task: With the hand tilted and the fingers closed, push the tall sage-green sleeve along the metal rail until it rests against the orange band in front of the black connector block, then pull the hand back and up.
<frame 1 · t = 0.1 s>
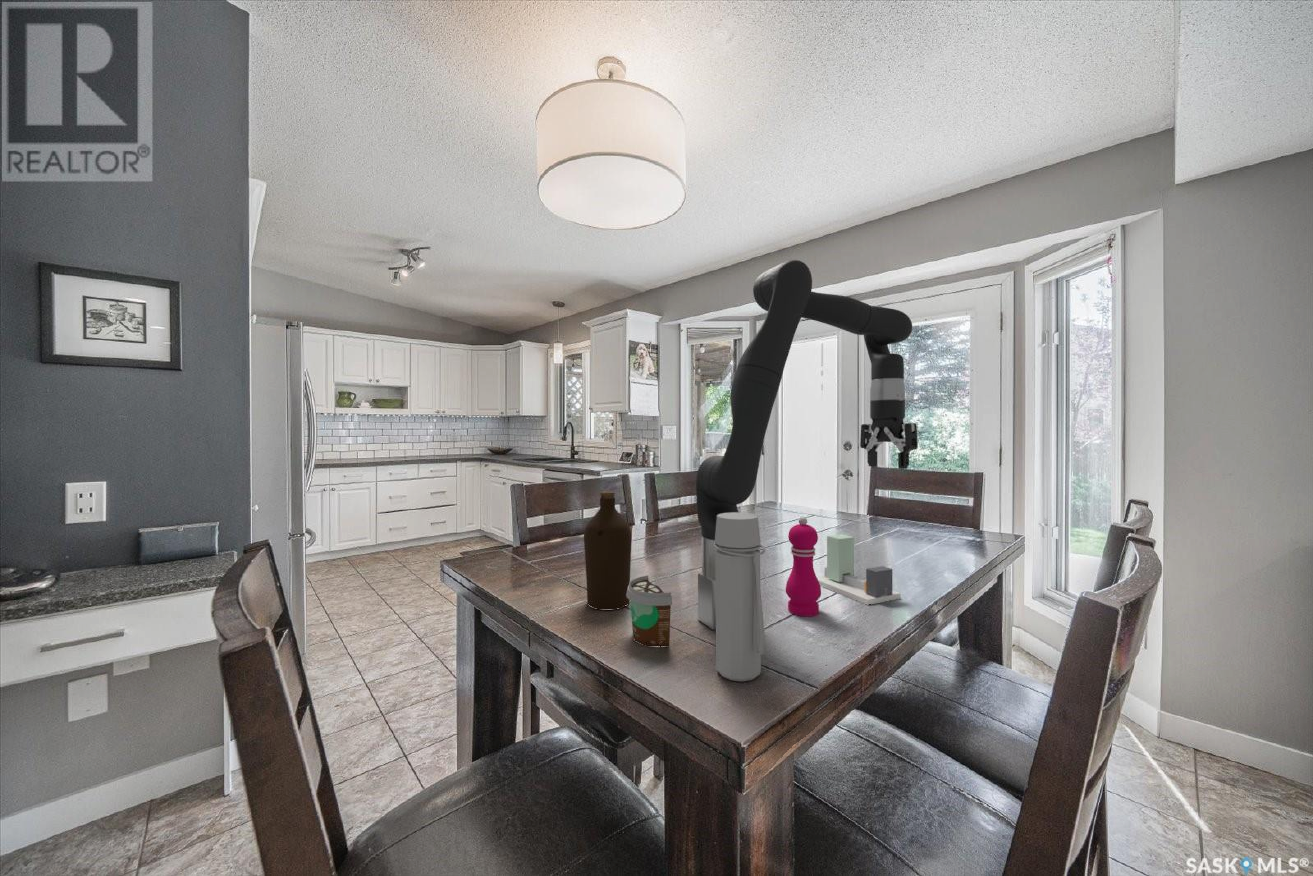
hand: (887, 467, 118), 29 cm above the table, tool pointing down, fingers open, 8 cm apart
sleeve: (840, 557, 123), point 7 cm above the table, slide at 7.0 cm
olive oil: (608, 604, 111), on the table
food container: (644, 640, 92), on the table
pepper mill: (803, 612, 106), on the table
rail base: (855, 590, 119), on the table
water bottle: (742, 676, 78), on the table
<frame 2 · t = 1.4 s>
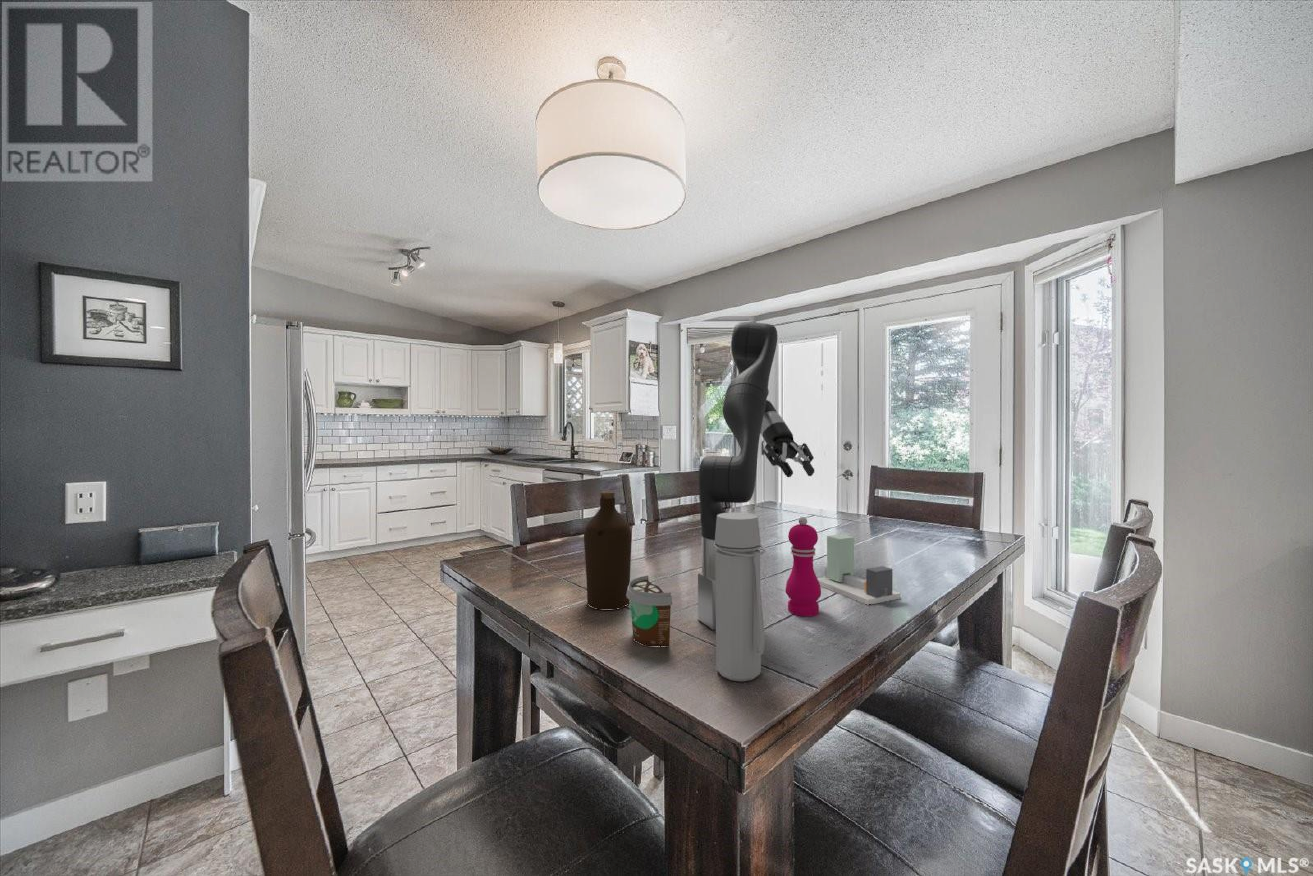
hand: (801, 474, 133), 26 cm above the table, tool tilted 45°, fingers open, 6 cm apart
nothing on the table moved.
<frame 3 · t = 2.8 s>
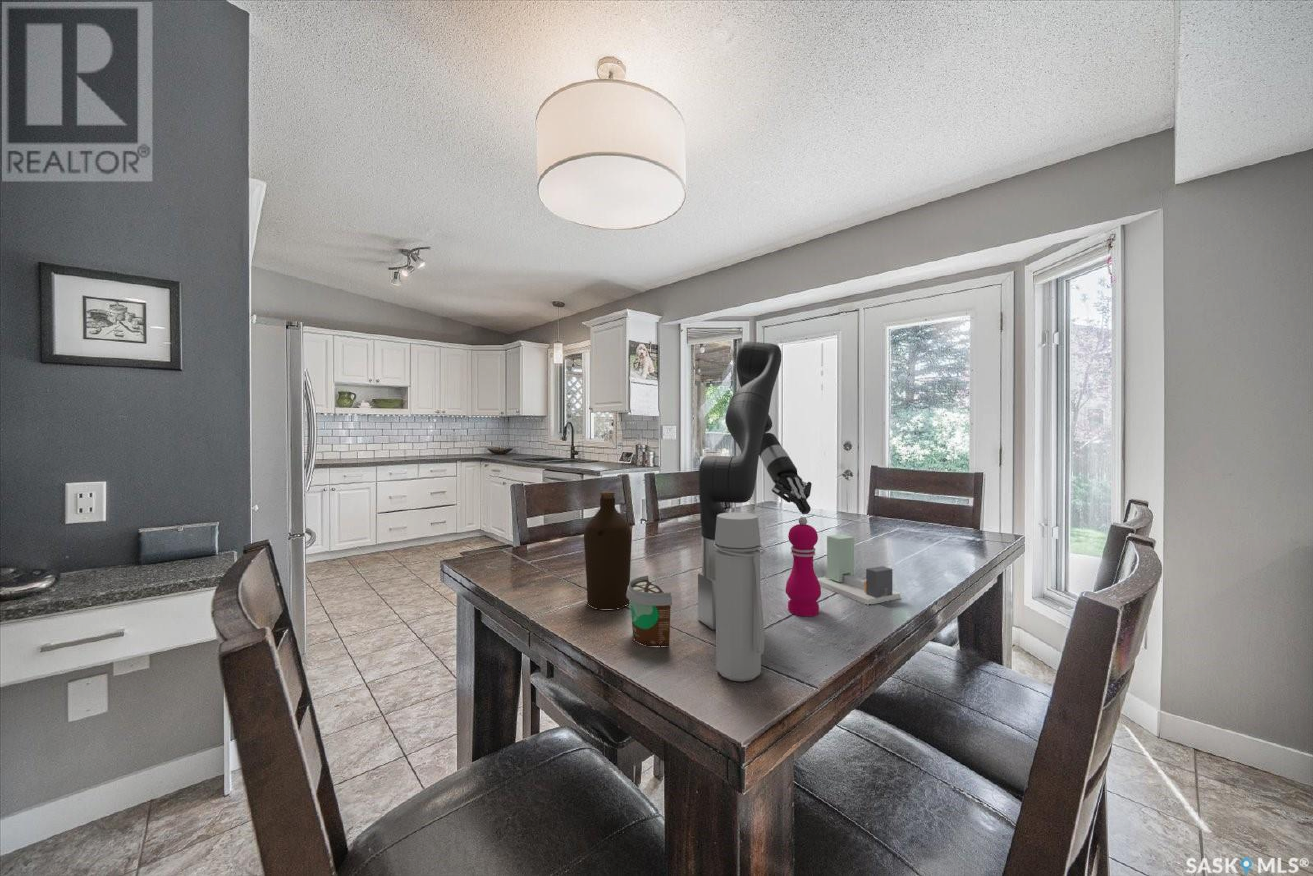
hand: (807, 512, 134), 16 cm above the table, tool tilted 45°, fingers closed
nothing on the table moved.
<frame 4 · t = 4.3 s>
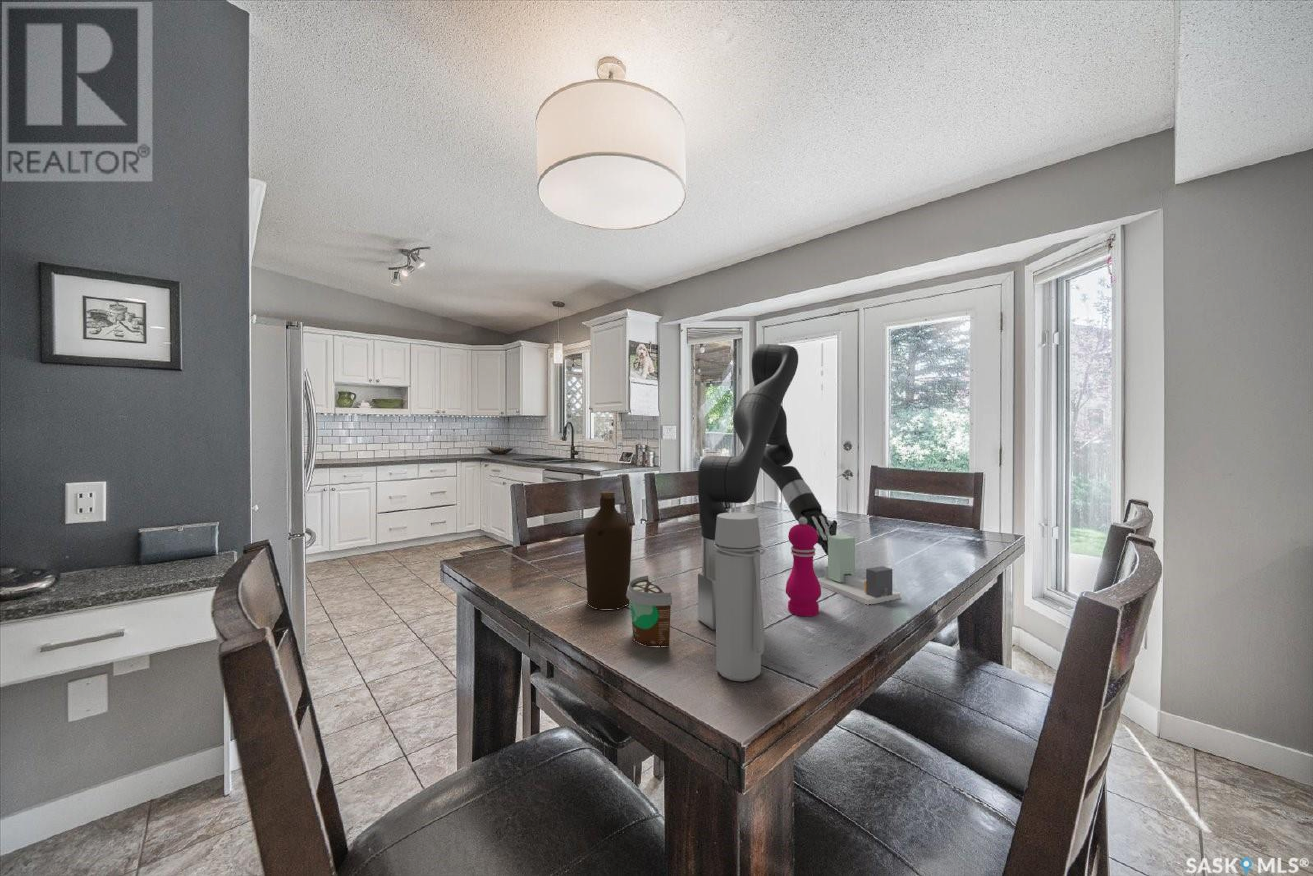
hand: (833, 555, 125), 7 cm above the table, tool tilted 45°, fingers closed
sleeve: (841, 557, 122), point 7 cm above the table, slide at 6.7 cm, touching gripper
everything else where it was.
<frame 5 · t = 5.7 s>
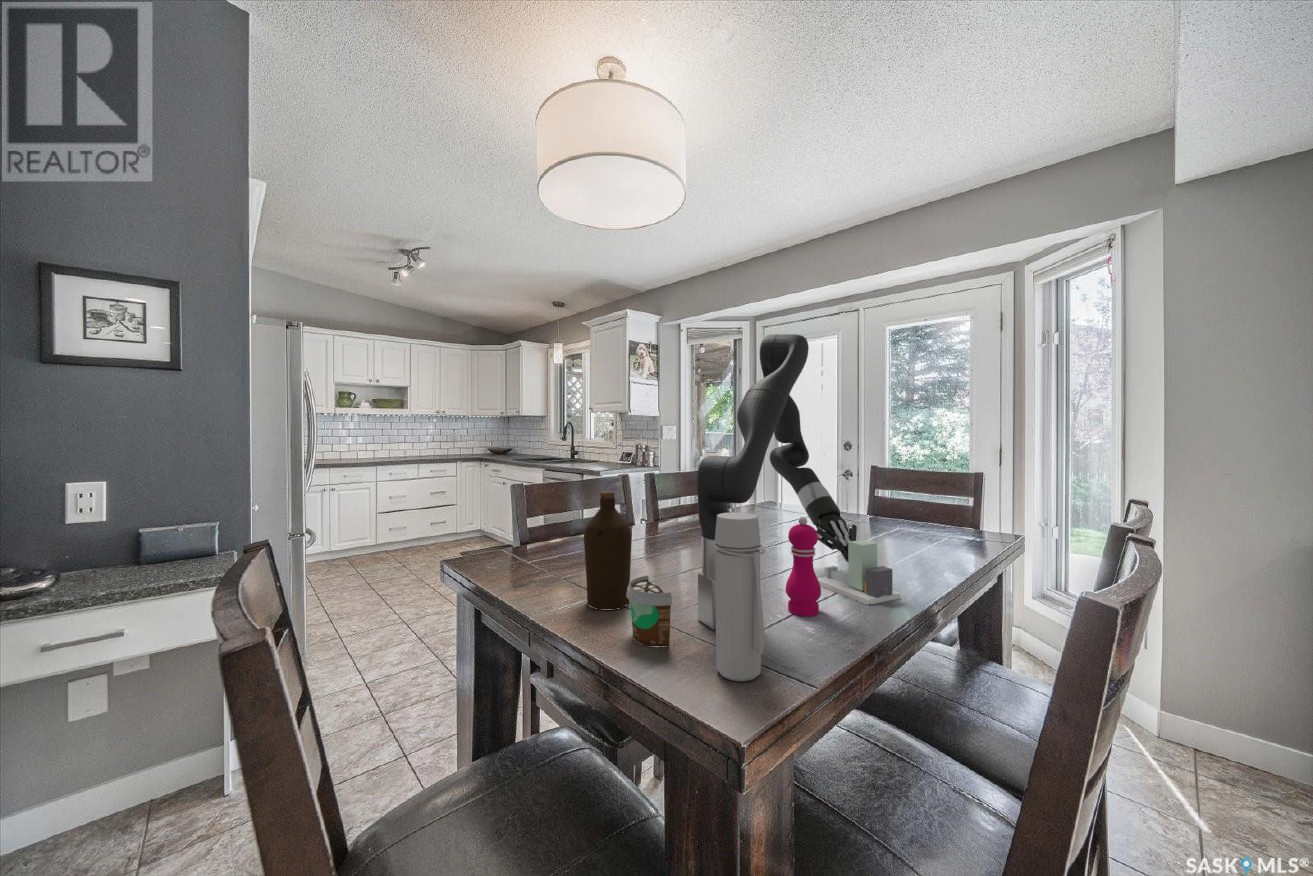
hand: (854, 562, 119), 7 cm above the table, tool tilted 45°, fingers closed
sleeve: (862, 564, 116), point 7 cm above the table, slide at -0.1 cm, touching gripper
everything else where it was.
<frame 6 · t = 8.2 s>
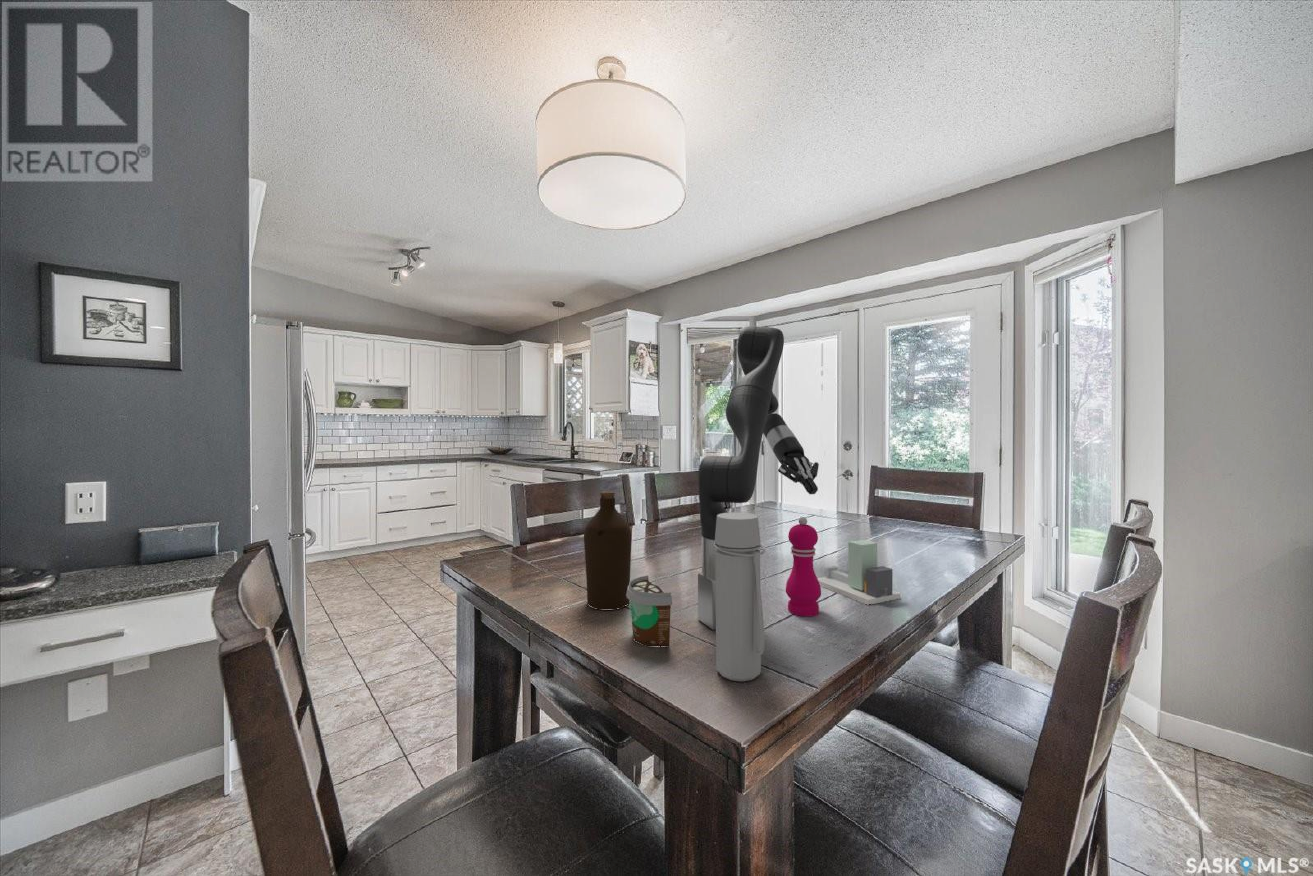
hand: (814, 492, 131), 22 cm above the table, tool tilted 45°, fingers closed
sleeve: (862, 564, 116), point 7 cm above the table, slide at 0.0 cm
everything else where it was.
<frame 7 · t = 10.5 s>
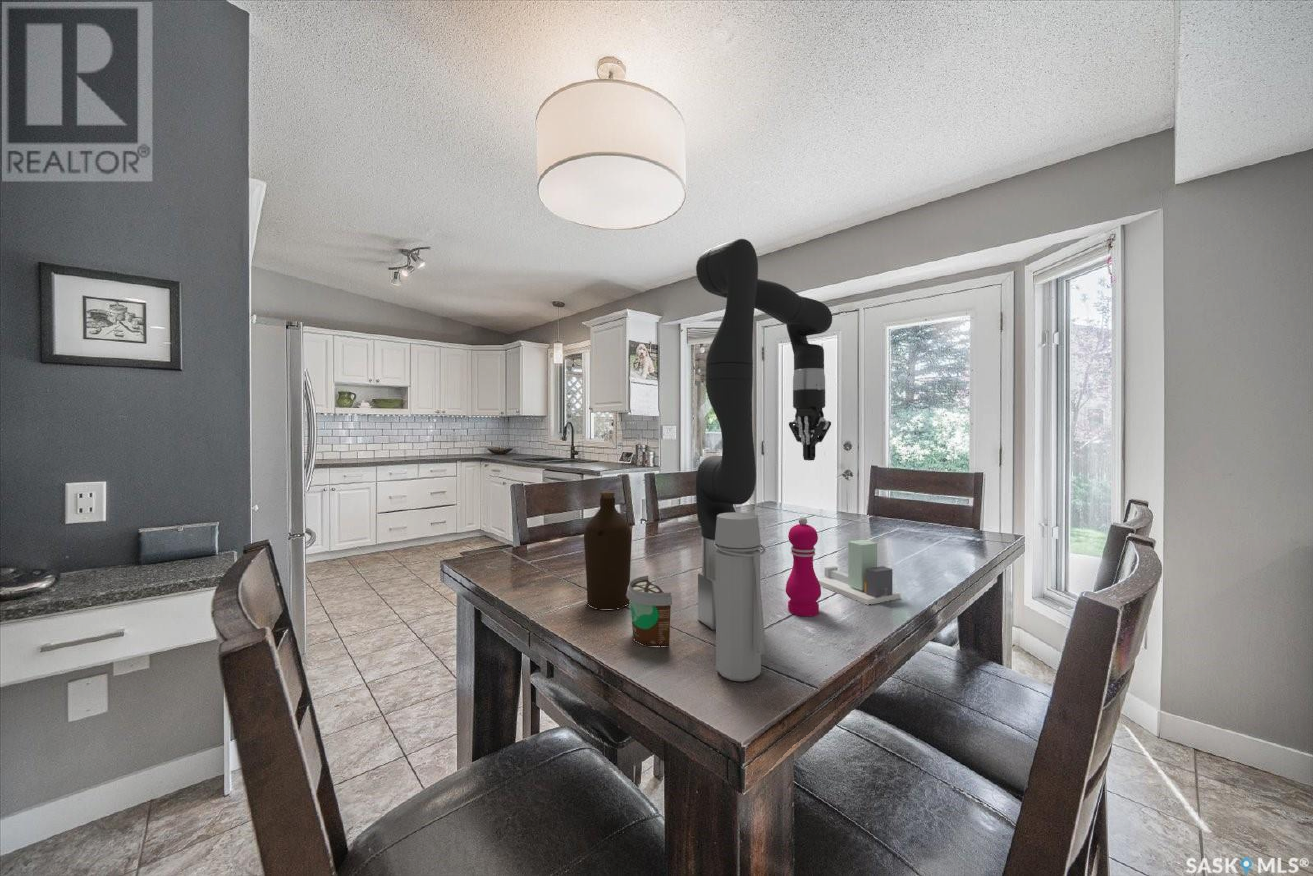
hand: (809, 460, 121), 31 cm above the table, tool pointing down, fingers closed
nothing on the table moved.
at the end: sleeve slide at 0.0 cm; pepper mill moved 0.2 cm from its start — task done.
